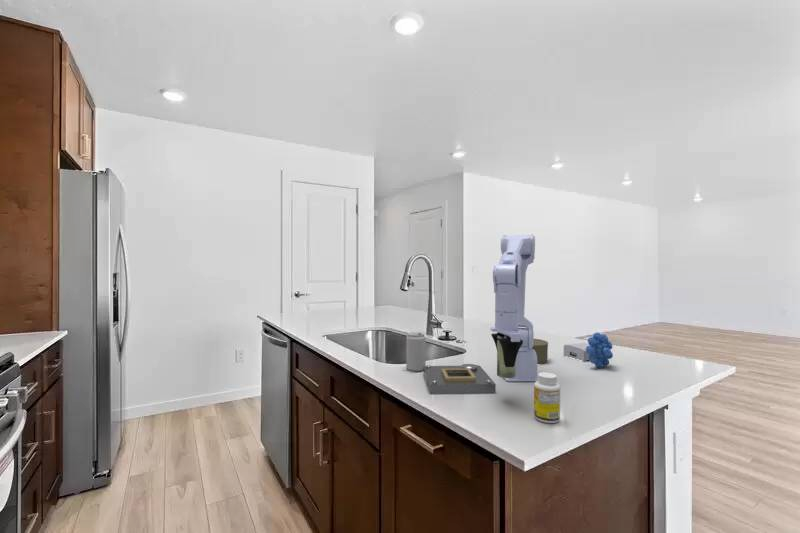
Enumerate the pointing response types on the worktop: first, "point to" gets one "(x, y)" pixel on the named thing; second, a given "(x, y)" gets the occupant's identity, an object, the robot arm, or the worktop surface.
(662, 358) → the worktop surface
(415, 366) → the beverage can
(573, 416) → the worktop surface
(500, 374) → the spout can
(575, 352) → the charger
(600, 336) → the grapes
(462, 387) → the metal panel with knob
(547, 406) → the supplement bottle
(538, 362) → the can
